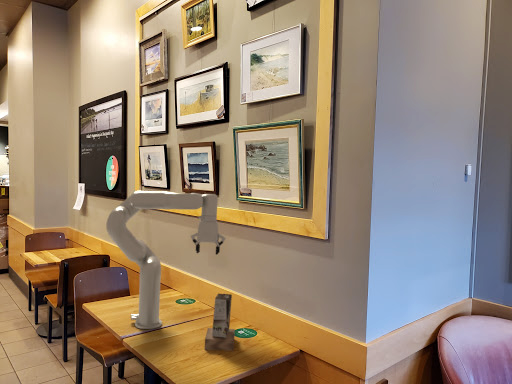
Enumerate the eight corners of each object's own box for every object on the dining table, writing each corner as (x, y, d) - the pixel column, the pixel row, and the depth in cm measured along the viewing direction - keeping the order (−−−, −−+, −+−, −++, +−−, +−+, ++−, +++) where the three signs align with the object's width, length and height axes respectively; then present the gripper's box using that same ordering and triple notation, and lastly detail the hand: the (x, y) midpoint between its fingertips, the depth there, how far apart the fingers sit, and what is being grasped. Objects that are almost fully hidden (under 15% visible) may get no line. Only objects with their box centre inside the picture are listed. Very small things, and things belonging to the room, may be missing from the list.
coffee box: (226, 338, 163) (229, 299, 163) (211, 336, 163) (214, 298, 163) (229, 330, 172) (232, 294, 172) (215, 328, 172) (218, 292, 172)
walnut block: (204, 350, 161) (204, 339, 161) (207, 339, 173) (207, 328, 173) (233, 351, 162) (233, 340, 161) (234, 340, 174) (234, 329, 173)
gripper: (189, 218, 189) (188, 253, 189) (224, 220, 187) (223, 256, 187) (194, 217, 196) (192, 251, 197) (227, 219, 194) (226, 253, 195)
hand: (207, 253), depth 192 cm, fingers open, 9 cm apart
